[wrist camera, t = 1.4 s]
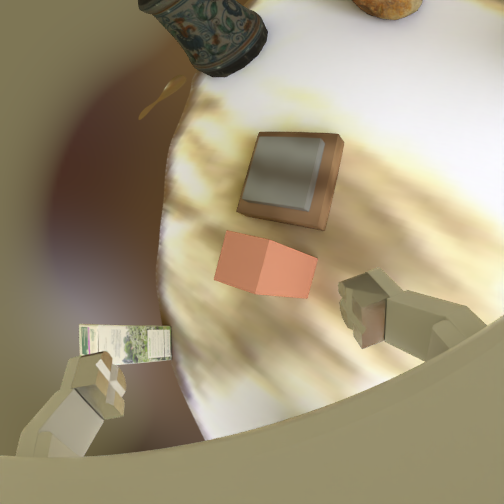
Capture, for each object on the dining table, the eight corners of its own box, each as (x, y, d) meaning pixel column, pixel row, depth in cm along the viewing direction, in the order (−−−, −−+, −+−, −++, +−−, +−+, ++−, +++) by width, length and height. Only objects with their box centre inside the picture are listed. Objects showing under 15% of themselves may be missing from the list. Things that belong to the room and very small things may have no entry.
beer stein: (194, 88, 58) (97, 24, 37) (212, 26, 60) (136, -36, 39) (265, 66, 49) (165, -27, 28) (275, 3, 51) (200, -78, 30)
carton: (282, 250, 42) (226, 230, 32) (317, 258, 39) (269, 239, 29) (272, 287, 42) (213, 279, 32) (307, 298, 39) (255, 294, 29)
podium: (267, 139, 46) (253, 127, 42) (344, 142, 39) (334, 128, 36) (246, 216, 46) (229, 208, 42) (324, 230, 39) (312, 223, 36)
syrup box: (149, 325, 53) (76, 323, 41) (172, 325, 50) (95, 324, 38) (150, 357, 52) (78, 361, 40) (173, 360, 49) (97, 367, 37)
